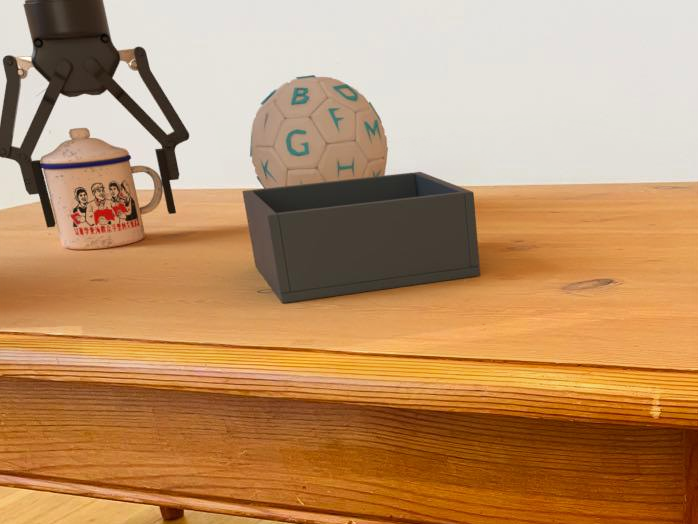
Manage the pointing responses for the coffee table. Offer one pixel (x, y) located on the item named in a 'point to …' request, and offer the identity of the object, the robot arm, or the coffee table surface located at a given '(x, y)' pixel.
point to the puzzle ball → (316, 134)
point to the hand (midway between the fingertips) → (112, 218)
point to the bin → (362, 235)
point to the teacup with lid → (96, 193)
